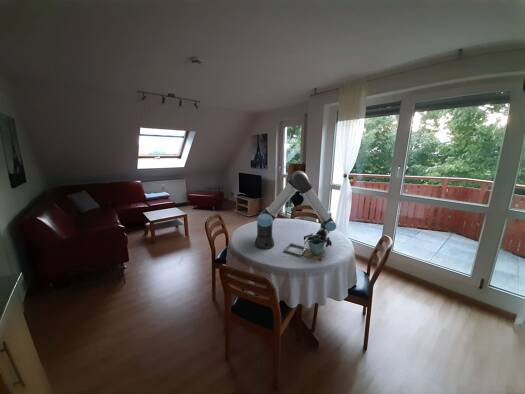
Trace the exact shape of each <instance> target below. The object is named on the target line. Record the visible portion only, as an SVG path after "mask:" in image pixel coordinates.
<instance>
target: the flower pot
mask: <svg viewBox="0 0 525 394" xmlns="http://www.w3.org/2000/svg"><path fill="white" fill-rule="evenodd" d="M307 243H308V249H309V248H310V250H311V252H312V253H313V254H315V255H319V254H322V253H323V252H325V250H324V249H323V248H324V244H325V242H324V241H322V240H320V239H318V238H317V239H313V240H308V242H307Z"/></svg>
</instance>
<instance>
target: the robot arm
mask: <svg viewBox="0 0 525 394" xmlns="http://www.w3.org/2000/svg"><path fill="white" fill-rule="evenodd" d="M296 192H300V194H301V195H303V196H304V197H305V199H306V201H307V202H308V203H309V205H310V207H311V208H312V209H313V211H314V212H315V214H316V215H317V217H318V219H319V220H320V228H319V229H318V231H317V232H316V233H315V234H314V233H310V234H306V235H304V236H303V241H304V242H303V246H306V244H307V243H308V241H309V240H313V239H317V238H318V239H320V240H322V241H324V242H325V244H324V248H323V249H324V251H325V249H326V248H328V247H329V246H330V247H332V246H333V245H332V244H333V243H332V240H331V239H330V236H328V235H329V234H330V232H334V231H335V230H336V228H337V224H336V221H334V219H333V218H332V212H331V211H328V210H327V209H326V207H325V206H324V204H323V202H322V201H321V200H320V198H319V196H318V195H317V194H316V192H315V190H314V189H313V185H312V183H311V181H310V179H309V176H308V175H307V174H306V173H305V171H302V170H296V171H294V172H293V173H292V174H291V176H290V177H289V179H288V180H287V181H286V185H285V187H284V188H283V189H282V190H281V192H280V193H279V194H278V195H277V197H276V198H274V200H273V201H272V202H271V204H269V206H267V207H265V208H264V209H263V210H262V211H261V212H260V213H259V215H258V216H257V219H256V228H257V229H256V238H255V240H254V246H255V248H257V249H259V250H270V249H271V248H274V246H275V240H274V237H273V224H274V223H273V222H274V221H275V220H276V219H277V217H278V213H279V212H280V211H281V210H282V208H283V207H284V206H285V205H286V204H287V202H288V201H290V199H291V197H293V195H295V193H296Z"/></svg>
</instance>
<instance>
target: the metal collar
mask: <svg viewBox="0 0 525 394" xmlns="http://www.w3.org/2000/svg"><path fill="white" fill-rule="evenodd" d="M291 246H292V247H295V248H298V249H301V250H302V249H303V250H302V251H300V253H299V252H295V251H291V250H289V248H290V247H291ZM307 250H308V247H307V246H306V245H299V244H296V243H293V242H290V243H289V244H288V245H287V246H286V247H284V249H283V253H286V254H290V255H293V256H298V257H300V258H301V257H302V256H304V254H305V253H306V251H307Z"/></svg>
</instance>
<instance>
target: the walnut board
mask: <svg viewBox="0 0 525 394" xmlns="http://www.w3.org/2000/svg"><path fill="white" fill-rule="evenodd" d="M325 255H326V252H325V251H323V253H322V254H319V255H315V254H313V253H312V252H311V250H310V248H309V247H308V248H307V250H306V251H305V252H304V253H303V257H306V258H309V259H312V260H317V261H319V262H321V261H322V259H323V257H324V256H325Z"/></svg>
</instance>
